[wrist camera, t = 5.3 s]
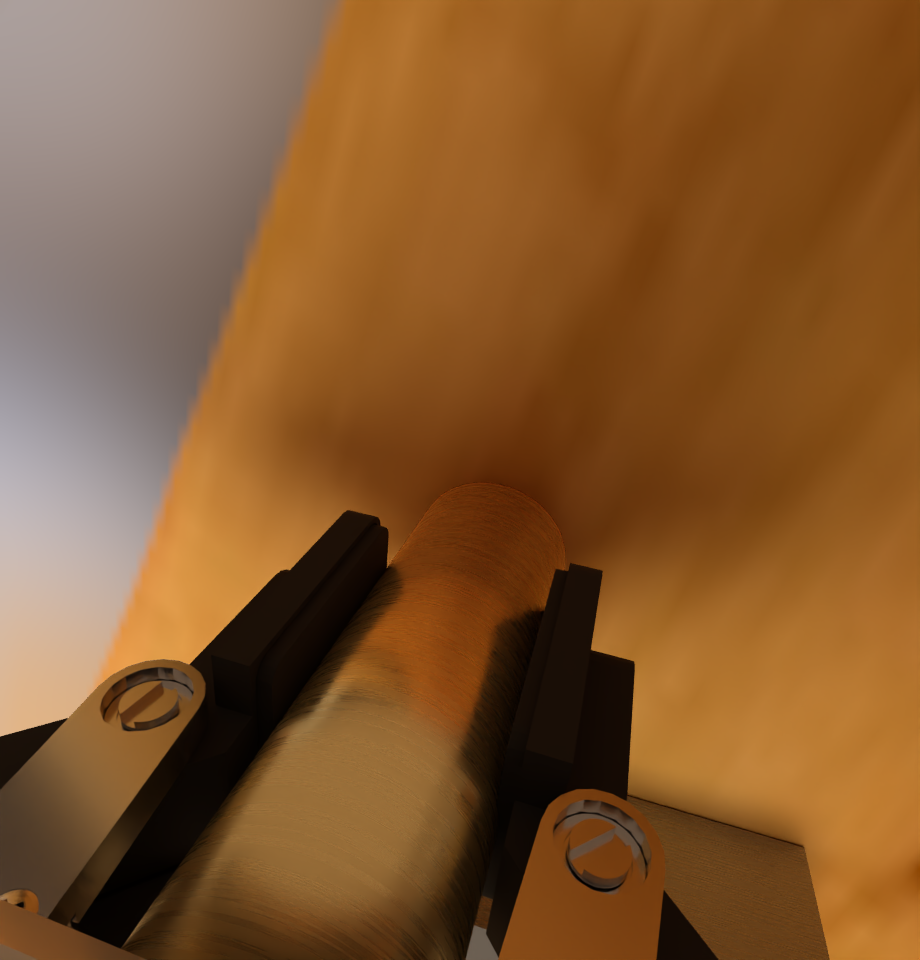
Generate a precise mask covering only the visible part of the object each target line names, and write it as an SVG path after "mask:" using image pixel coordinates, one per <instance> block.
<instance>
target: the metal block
mask: <svg viewBox="0 0 920 960" xmlns="http://www.w3.org/2000/svg"><path fill="white" fill-rule="evenodd" d="M627 802H629V803H630V804H631V805H632V806H634V807H635V808H636V809H637V810H638V811H639V812H641V813H642V814H643V815H644V816H645V817H646V818H647V820H648V821H649V822H650V824H651V825H652V827H653V828H654V829H655V831H656V832H657V834H658V837H659V839H660V842H661V844H662V847H663V849H664V855H665V869H666V871H665V881H664V890H665V892H666V893H667V894H668V896H669V897H670V898H671V899H672V901H673V902H674V903H675V904H676V906H677V907H678V908H679V910H680V911H681V912H682V913H683V915H684V916H685V917H686V919H687V920H688V921H689V922H690V924H691V925H692V926H693V927H694V929H695V930H696V931H697V933H698V934H699V935H700V936H701V938H702V939H703V940H704V941H705V943H706V944H707V945H708V947H709V948H710V949H711V950H712V952H713V953H714V954H715V955H716V957H717V958H718V959H719V960H830V959H829V954H828V950H827V946H826V941H825V937H824V932H823V928H822V924H821V919H820V915H819V911H818V906H817V902H816V897H815V893H814V889H813V884H812V880H811V875H810V871H809V867H808V862H807V858H806V853H805V849H804V848H803V847H800V846H796V845H793V844H790V843H786V842H783V841H779V840H776V839H773V838H769V837H766V836H762V835H759V834H756V833H752V832H749V831H745V830H742V829H739V828H735V827H732V826H728V825H725V824H721V823H718V822H715V821H711V820H708V819H704V818H701V817H698V816H694V815H691V814H687V813H684V812H681V811H677V810H674V809H670V808H667V807H663V806H660V805H657V804H653V803H650V802H646V801H643V800H640V799H636V798H633V797H629V796H627ZM492 901H493V899H490V898H487V897H485V896H482V897H481V901H480V904H479V908H478V912H477V916H476V920H475V924H474V928H473V932H472V936H471V940H470V944H469V948H468V952H467V956H466V960H498V956H497V954H496V952H495V950H494V948H493V946H492V945H491V943H490V941H489V939H488V937H487V935H486V930H487V925H488V920H489V916H490V911H491V906H492Z"/></svg>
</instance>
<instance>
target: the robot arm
mask: <svg viewBox="0 0 920 960" xmlns="http://www.w3.org/2000/svg"><path fill="white" fill-rule="evenodd" d="M387 553H388V529H387V528H386V527H382V526H380V520H379V518H378V517H375V516H371V515H367V514H362V513H358V512H354V511H350V510H348V511H346V512H344V513H343V514H342V515H341V516H340V517H339V519H338V520H337V521H336V522H335V523H334V524H333V525H332V526H331V527H330V528H329V529H328V530H327V531H326V532H325V533H324V535H323V536H322V537H321V538H320V539H319V540H318V541H317V542H316V543H315V544H314V545H313V546H312V547H311V548H310V550H309V551H308V552H307V553H306V554H305V555H304V556H303V557H302V558H301V559H300V560H299V561H298V562H297V563H296V564H295V566H294V567H293V568H292V569H291V570H283V571H280V572H279V573H278V574H276V575H275V576H274V577H273V578H272V579H271V580H270V581H269V582H268V583H267V584H266V586H265V587H264V588H263V589H262V590H261V591H260V592H259V593H258V594H257V595H256V596H255V597H254V598H253V599H252V600H251V601H250V602H249V603H248V604H247V605H246V606H245V607H244V608H243V609H242V610H241V612H240V613H239V614H238V615H237V616H236V617H235V618H234V619H233V620H232V621H231V622H230V623H229V624H228V625H227V626H226V627H225V628H224V629H223V630H222V631H221V632H220V633H219V634H218V635H217V636H216V638H215V639H214V640H213V641H212V642H211V643H210V644H209V645H208V646H207V647H206V648H205V649H204V650H203V651H202V652H201V653H200V654H199V655H198V656H197V657H196V658H195V659H194V660H193V661H192V662H191V664H190V665H189V664H186V663H183V662H180V661H175V660H165V659H161V660H152V661H145V662H141V663H138V664H135V665H132V666H128V667H126V668H125V669H123V670H121V671H119V672H117V673H115V674H113V675H111V676H110V677H109V678H108V679H107V680H105V681H104V682H103V683H102V684H101V685H99V686H98V687H97V688H96V689H95V691H94V692H93V693H92V694H91V695H90V696H89V697H88V698H87V699H86V700H85V701H84V702H83V703H82V704H81V705H80V706H79V707H78V708H77V710H76V711H75V712H74V713H73V714H72V715H71V716H70V717H69V718H66V719H63V720H59V721H55V722H52V723H48V724H45V725H41V726H38V727H34V728H30V729H26V730H23V731H19V732H15V733H12V734H8V735H4V736H1V737H0V960H146V959H144V958H141V957H139V956H137V955H134V954H132V953H129V952H127V951H125V950H122V949H121V948H122V946H123V945H124V943H125V942H126V941H127V939H128V938H129V936H130V935H131V933H132V932H133V931H134V929H135V928H136V926H137V925H138V923H139V922H140V921H141V919H142V918H143V916H144V915H145V913H146V912H147V911H148V909H149V908H150V906H151V905H152V903H153V902H154V901H155V899H156V898H157V896H158V895H159V893H160V892H161V891H162V889H163V888H164V886H165V885H166V883H167V882H168V881H169V879H170V878H171V876H172V875H173V873H174V872H175V871H176V869H177V868H178V866H179V865H180V863H181V862H182V861H183V859H184V858H185V856H186V855H187V853H188V852H189V850H190V849H191V848H192V846H193V845H194V843H195V842H196V840H197V839H198V838H199V836H200V835H201V833H202V832H203V830H204V829H205V828H206V826H207V825H208V823H209V822H210V820H211V819H212V818H213V816H214V815H215V813H216V812H217V810H218V809H219V808H220V806H221V805H222V803H223V802H224V800H225V799H226V798H227V796H228V795H229V793H230V792H231V790H232V789H233V788H234V786H235V785H236V783H237V782H238V780H239V779H240V778H241V776H242V775H243V773H244V772H245V770H246V769H247V768H248V766H249V765H250V763H251V762H252V760H253V759H254V758H255V756H256V755H257V753H258V752H259V750H260V749H261V748H262V746H263V745H264V743H265V742H266V740H267V739H268V738H269V736H270V735H271V733H272V732H273V730H274V729H275V728H276V726H277V725H278V723H279V722H280V720H281V719H282V718H283V716H284V715H285V713H286V712H287V710H288V709H289V708H290V706H291V705H292V703H293V702H294V700H295V699H296V698H297V696H298V695H299V693H300V692H301V690H302V689H303V688H304V686H305V685H306V683H307V682H308V680H309V679H310V678H311V676H312V675H313V673H314V672H315V670H316V669H317V667H318V666H319V665H320V663H321V662H322V660H323V659H324V657H325V656H326V655H327V653H328V652H329V650H330V649H331V647H332V646H333V645H334V643H335V642H336V640H337V639H338V637H339V636H340V635H341V633H342V632H343V630H344V629H345V627H346V626H347V625H348V623H349V622H350V620H351V619H352V617H353V616H354V615H355V613H356V612H357V610H358V609H359V607H360V606H361V605H362V603H363V602H364V600H365V599H366V597H367V596H368V595H369V593H370V592H371V590H372V589H373V587H374V586H375V585H376V583H377V582H378V580H379V579H380V577H381V576H382V575H383V573H384V572H385V570H386V569H387ZM602 573H603V571H601V570H597V569H593V568H589V567H584V566H580V565H576V564H572V563H570V567H569V571H564V570H560V569H556V570H555V573H554V577H553V580H552V584H551V588H550V591H549V595H548V599H547V602H546V606H545V609H544V613H543V617H542V620H541V624H540V628H539V631H538V635H537V639H536V642H535V646H534V650H533V653H532V657H531V661H530V664H529V668H528V671H527V675H526V679H525V682H524V686H523V690H522V693H521V697H520V701H519V704H518V708H517V712H516V715H515V719H514V722H513V726H512V730H511V734H510V738H509V742H508V747H507V751H506V756H505V761H504V766H503V771H502V776H501V782H500V787H499V792H498V797H497V803H496V806H497V809H498V820H499V823H498V833H497V837H496V841H495V845H494V849H493V853H492V857H491V861H490V865H489V869H488V873H487V877H486V881H485V885H484V889H483V893H482V896H485V897H487V898H490V899H493V901H492V906H491V911H490V916H489V920H488V925H487V930H486V935H487V937H488V939H489V941H490V943H491V945H492V946H493V948H494V950H495V952H496V954H497V956H498V960H719V959H718V958H717V957H716V955H715V954H714V953H713V952H712V950H711V949H710V948H709V947H708V945H707V944H706V943H705V941H704V940H703V939H702V938H701V936H700V935H699V934H698V933H697V931H696V930H695V929H694V927H693V926H692V925H691V924H690V922H689V921H688V920H687V919H686V917H685V916H684V915H683V913H682V912H681V911H680V910H679V908H678V907H677V906H676V904H675V903H674V902H673V901H672V899H671V898H670V897H669V896H668V894H667V893H666V892H665V890H664V881H665V871H666V869H665V855H664V849H663V847H662V844H661V842H660V839H659V837H658V834H657V832H656V831H655V829H654V828H653V827H652V825H651V824H650V822H649V821H648V820H647V818H646V817H645V816H644V815H643V814H642V813H641V812H639V811H638V810H637V809H636V808H635V807H634V806H632V805H631V804H630V803H629V802H627V789H628V772H629V756H630V739H631V723H632V706H633V689H634V673H635V664H634V661H630V660H627V659H623V658H619V657H615V656H611V655H608V654H604V653H600V652H596V651H593V650H591V644H592V638H593V631H594V625H595V618H596V612H597V605H598V599H599V592H600V586H601V579H602Z"/></svg>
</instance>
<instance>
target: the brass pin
mask: <svg viewBox="0 0 920 960" xmlns="http://www.w3.org/2000/svg"><path fill="white" fill-rule="evenodd" d="M564 567H565V547H564V542H563V538H562V535H561V533H560V531H559V529H558V527H557V525H556V523H555V522H554V520H553V519H552V517H551V516H550V515H549V513H548V512H547V511H546V510H545V509H544V508H543V507H542V506H541V505H540V504H539V503H538V502H536V501H535V500H534V499H532V498H531V497H529V496H528V495H526V494H524V493H522V492H520V491H518V490H516V489H513V488H511V487H508V486H504V485H501V484H495V483H484V482H479V483H469V484H465V485H461V486H458V487H455V488H453V489H451V490H449V491H447V492H445V493H444V494H442V495H441V496H440V497H438V498H437V499H436V500H435V501H434V502H433V503H432V505H431V506H430V507H429V509H428V510H427V512H426V513H425V515H424V516H423V517H422V519H421V520H420V522H419V523H418V525H417V526H416V527H415V529H414V530H413V532H412V533H411V535H410V536H409V537H408V539H407V540H406V542H405V543H404V545H403V546H402V547H401V549H400V550H399V552H398V553H397V555H396V556H395V557H394V559H393V560H392V562H391V563H390V565H389V566H388V567H387V569H386V570H385V572H384V573H383V575H382V576H381V577H380V579H379V580H378V582H377V583H376V585H375V586H374V587H373V589H372V590H371V592H370V593H369V595H368V596H367V597H366V599H365V600H364V602H363V603H362V605H361V606H360V607H359V609H358V610H357V612H356V613H355V615H354V616H353V617H352V619H351V620H350V622H349V623H348V625H347V626H346V627H345V629H344V630H343V632H342V633H341V635H340V636H339V637H338V639H337V640H336V642H335V643H334V645H333V646H332V647H331V649H330V650H329V652H328V653H327V655H326V656H325V657H324V659H323V660H322V662H321V663H320V665H319V666H318V667H317V669H316V670H315V672H314V673H313V675H312V676H311V678H310V679H309V680H308V682H307V683H306V685H305V686H304V688H303V689H302V690H301V692H300V693H299V695H298V696H297V698H296V699H295V700H294V702H293V703H292V705H291V706H290V708H289V709H288V710H287V712H286V713H285V715H284V716H283V718H282V719H281V720H280V722H279V723H278V725H277V726H276V728H275V729H274V730H273V732H272V733H271V735H270V736H269V738H268V739H267V740H266V742H265V743H264V745H263V746H262V748H261V749H260V750H259V752H258V753H257V755H256V756H255V758H254V759H253V760H252V762H251V763H250V765H249V766H248V768H247V769H246V770H245V772H244V773H243V775H242V776H241V778H240V779H239V780H238V782H237V783H236V785H235V786H234V788H233V789H232V790H231V792H230V793H229V795H228V796H227V798H226V799H225V800H224V802H223V803H222V805H221V806H220V808H219V809H218V810H217V812H216V813H215V815H214V816H213V818H212V819H211V820H210V822H209V823H208V825H207V826H206V828H205V829H204V830H203V832H202V833H201V835H200V836H199V838H198V839H197V840H196V842H195V843H194V845H193V846H192V848H191V849H190V850H189V852H188V853H187V855H186V856H185V858H184V859H183V861H182V862H181V863H180V865H179V866H178V868H177V869H176V871H175V872H174V873H173V875H172V876H171V878H170V879H169V881H168V882H167V883H166V885H165V886H164V888H163V889H162V891H161V892H160V893H159V895H158V896H157V898H156V899H155V901H154V902H153V903H152V905H151V906H150V908H149V909H148V911H147V912H146V913H145V915H144V916H143V918H142V919H141V921H140V922H139V923H138V925H137V926H136V928H135V929H134V931H133V932H132V933H131V935H130V936H129V938H128V939H127V941H126V942H125V943H124V945H123V946H122V948H121V949H122V950H125V951H127V952H129V953H132V954H134V955H137V956H139V957H141V958H144V959H146V960H466V956H467V952H468V948H469V944H470V940H471V936H472V932H473V928H474V924H475V920H476V916H477V912H478V908H479V904H480V901H481V897H482V893H483V889H484V885H485V881H486V877H487V873H488V869H489V865H490V861H491V857H492V853H493V849H494V845H495V841H496V837H497V833H498V823H499V820H498V809H497V806H496V803H497V797H498V792H499V787H500V782H501V776H502V771H503V766H504V761H505V756H506V751H507V747H508V742H509V738H510V734H511V730H512V726H513V722H514V719H515V715H516V712H517V708H518V704H519V701H520V697H521V693H522V690H523V686H524V682H525V679H526V675H527V671H528V668H529V664H530V661H531V657H532V653H533V650H534V646H535V642H536V639H537V635H538V631H539V628H540V624H541V620H542V617H543V613H544V609H545V606H546V602H547V599H548V595H549V591H550V588H551V584H552V580H553V577H554V573H555V570H556V569H560V570H564Z"/></svg>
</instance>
